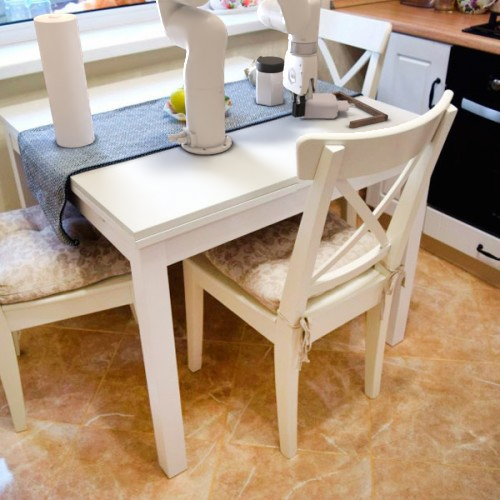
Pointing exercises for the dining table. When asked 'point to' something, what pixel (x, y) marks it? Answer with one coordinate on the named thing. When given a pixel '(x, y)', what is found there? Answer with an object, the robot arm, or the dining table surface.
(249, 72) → the ceramic sculpture
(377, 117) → the brown bent bar
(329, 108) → the charger
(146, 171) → the dining table surface
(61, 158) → the dining table surface
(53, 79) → the cylinder container
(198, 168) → the dining table surface
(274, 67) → the jar
